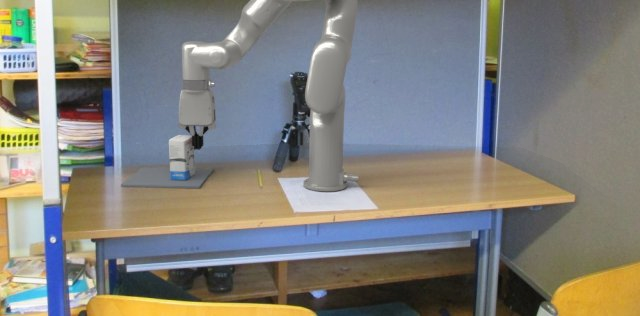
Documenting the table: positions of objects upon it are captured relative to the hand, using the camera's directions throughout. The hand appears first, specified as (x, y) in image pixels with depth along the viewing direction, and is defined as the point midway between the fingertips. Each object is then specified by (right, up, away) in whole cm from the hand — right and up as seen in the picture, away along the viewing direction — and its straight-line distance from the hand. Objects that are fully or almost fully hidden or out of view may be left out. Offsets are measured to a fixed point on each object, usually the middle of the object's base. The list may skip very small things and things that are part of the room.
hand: (197, 148), depth 189 cm
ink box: (-5, -8, +2) cm, 10 cm away
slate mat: (-9, -9, +2) cm, 13 cm away
